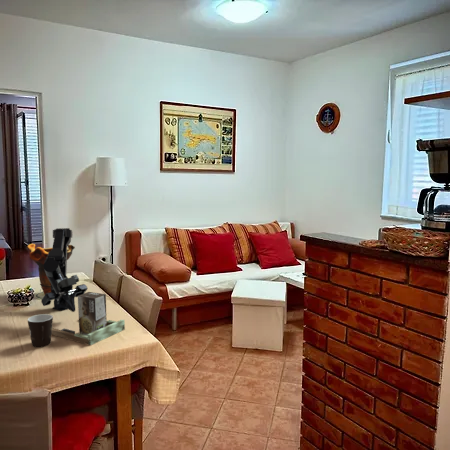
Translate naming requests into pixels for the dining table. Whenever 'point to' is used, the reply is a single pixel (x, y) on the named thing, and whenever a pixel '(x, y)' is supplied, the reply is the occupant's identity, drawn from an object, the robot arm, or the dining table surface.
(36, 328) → the coffee mug
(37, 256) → the decorative vase
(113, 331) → the rectangular frame
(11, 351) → the dining table surface
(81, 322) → the coffee box
